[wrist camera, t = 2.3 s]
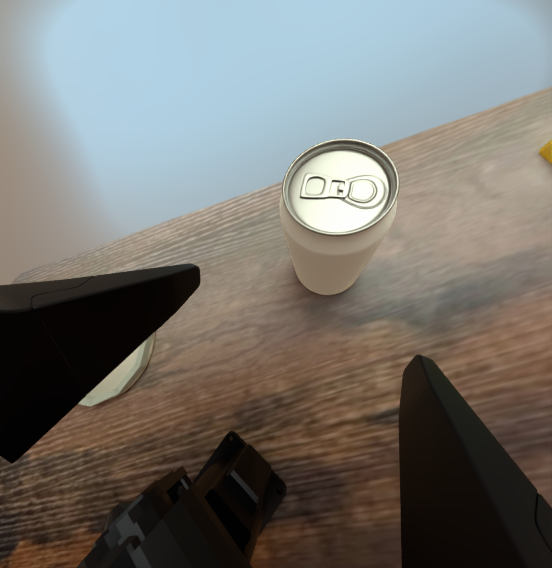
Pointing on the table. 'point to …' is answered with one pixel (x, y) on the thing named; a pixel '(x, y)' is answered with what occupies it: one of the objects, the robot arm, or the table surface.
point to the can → (337, 211)
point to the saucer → (122, 375)
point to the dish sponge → (547, 151)
